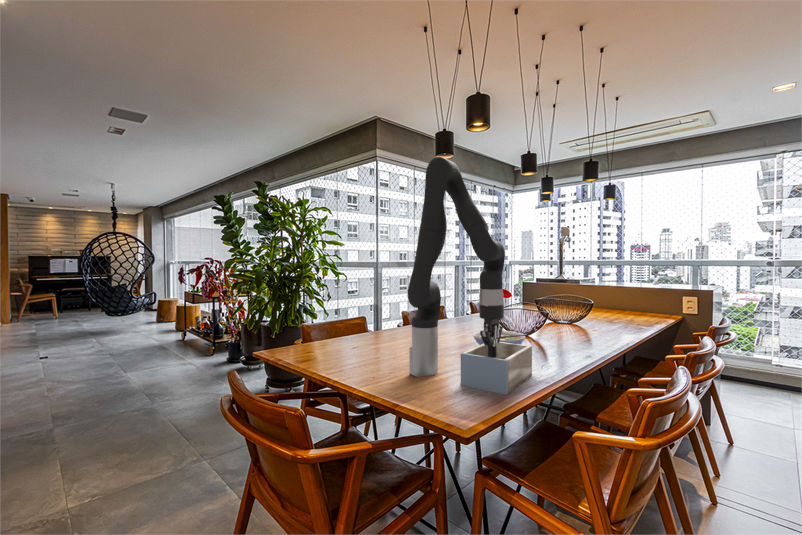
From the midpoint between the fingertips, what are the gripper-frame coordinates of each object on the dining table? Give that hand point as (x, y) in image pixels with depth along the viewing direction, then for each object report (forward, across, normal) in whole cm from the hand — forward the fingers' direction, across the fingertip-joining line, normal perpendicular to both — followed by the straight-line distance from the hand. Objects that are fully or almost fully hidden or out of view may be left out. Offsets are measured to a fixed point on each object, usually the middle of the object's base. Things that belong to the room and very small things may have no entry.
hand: (492, 357), depth 119 cm
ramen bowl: (+10, -47, -17) cm, 51 cm away
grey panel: (+8, +6, 0) cm, 10 cm away
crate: (+10, -6, 0) cm, 11 cm away
